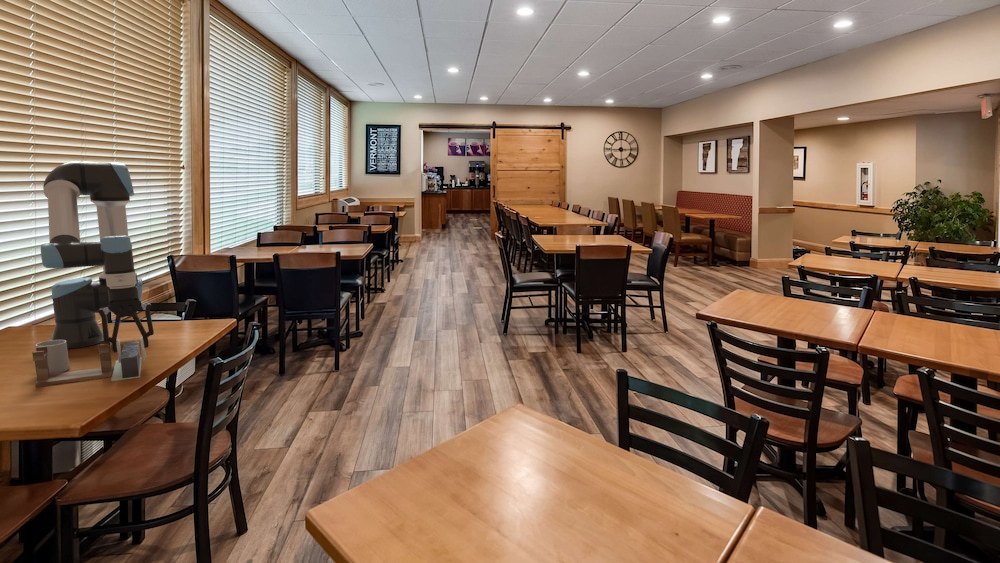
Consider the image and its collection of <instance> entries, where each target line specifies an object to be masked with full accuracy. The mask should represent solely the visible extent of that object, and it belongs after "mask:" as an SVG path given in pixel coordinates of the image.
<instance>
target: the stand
mask: <svg viewBox="0 0 1000 563" xmlns="http://www.w3.org/2000/svg"><path fill="white" fill-rule="evenodd" d="M35 349H36V351H32V353H31V355H32V361H33V362H34V365H35V367H34V368H35V374H36V382H35V383H34V385H35V388H37V387H45V386H52V385H59V384H67V383H73V382H81V381H83V382H84V381H90V380H98V379H103V378H104V379H105V378H112V374H113V370H114V365H113V362H112V354H111V342H108V341H104V340H100V343H99V344H97V350H98V354H99V361H100V367H96V368H95V367H94V368H87V369H79V370H71V371H65V372H61V373H55V374H49V366H48V358H47V355H48V349H47V346H42V347H36V346H35Z"/></svg>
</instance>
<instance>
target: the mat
mask: <svg viewBox="0 0 1000 563" xmlns="http://www.w3.org/2000/svg"><path fill="white" fill-rule="evenodd" d="M142 361H143V356H140V369H139V376H137V377H129V378H122V368H121V363H119V359H117V360H115V364H114V365H113V373H112V377H110V378H111V379H110V382H117V381H122V380H123V381H124V380H132V379H139V378H141V369H142V368H141V367H142Z"/></svg>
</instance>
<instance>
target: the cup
mask: <svg viewBox="0 0 1000 563" xmlns="http://www.w3.org/2000/svg"><path fill="white" fill-rule="evenodd" d="M42 346H47V349H48V355H47V358H48V366H49V374H55V373H63V372H68V370H69V369H70V361H69V360H70V359H69V352H68V349H67V343H66V340H51V339H50V340H45V341H41V342H38V343H36V344H35V348H36V347H42Z"/></svg>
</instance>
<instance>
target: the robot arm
mask: <svg viewBox="0 0 1000 563" xmlns="http://www.w3.org/2000/svg"><path fill="white" fill-rule="evenodd" d="M43 195H44V196H45V197H46V199H47V208H48V209H47V211H48V212H47V213H48V235H49V236H48V237H49V239H48V240H49V242H48V243H43V244H41V245H40V257H41V263H42V265H43V267H44V268H46V269H68V268H70V269H71V268H82V267H84V268H85V267H102V272H101V273H100V274H99V275H98V280H94V281H93V279H92V277H87V276H85V277H77V278H72V279H67V280H61V281H58V282H56V283H54V284H53V285H52V286H51V299H52V304H53V315H54V323H55V325H54V329H53V333H52V336H51V339H50V341H51V340H66V343H67V350H68V349H69V350H70V349H78V348H85V347H90V346H94V345H99V344H100V340H104V341H108V342H110V344H111V346H112V348H111V349H112V352H113V353H117V357H118V358H117V359H118V360H119V363H121V354H122V348H121V341H120V340H117V338H118V334H119V329H120V324H121V319H122V318H125V317H132V320H134V322H135V325H136V327H137V329H138V331H139V333H140V335H141V336H142V337H140V338H139V341H140V346H141V347H140V348H141V355H142V360H146V359H147V354H146V353H147V352H146V349H147V348H149V347H150V346H149V345H150V344H149V337H150V336H153V335H154V334H155V333H154V332H155V331H154V325H153V320H152V314H151V308H152V304H151V303H150V302H149V303H145V302H142V299H143V298H142V297H143V278H141V277H138V273H137V272H136V270H135V262H134V254H133V245H132V241H131V237H130V236H129V231H128V230H129V229H128V219H127V218H128V217H127V209H126V208H127V207H126V206H127V204H128V203H129V202H130V201H131V198H130V197H133V196H135V192H134V187H133V182H132V178H131V175H130V171H129V168H128V166H127V165H126V164H125V163H122V162H112V161H110V162H109V161H104V162H103V161H79V160H78V161H77V160H72V161H68V162H64V163H62V164H60V165H58V166H56V167H55V168H54V169H52V170H51V171H50V172H49V173H48V174H47V175H46V177H45V180H44V181H43ZM80 196H89V199H90V202H91V203H92V204H94V205H95V207H96V214H97V216H96V217H97V225H98V232H99V233H98V234H99V235H98V236H99V241H83V242H82V241H81V235H80V234H81V232H80V221H79V220H80V219H79V212H78V211H79V210H78V209H79V208H78V199H79V198H80ZM141 307H142V310H143V311H144V312H145V319H146V324H147V329H148V330H147V331H146V328H145V326H144V325H143V323H142V322H141V321H142V320H141V319H140V316H139V315H138V313H137V312H138V311H139V310H140V309H141ZM110 312H111V313H112V314H113V315H115V321H114V325H113V330H112V334H111V336H109V335H110V333H109V324H108V316H107V315H109V313H110ZM96 314H99V316H100V318H101V325H102V327H101V326H100V325H99V323H98V322H97V318H96ZM101 328H102V329H101Z"/></svg>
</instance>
